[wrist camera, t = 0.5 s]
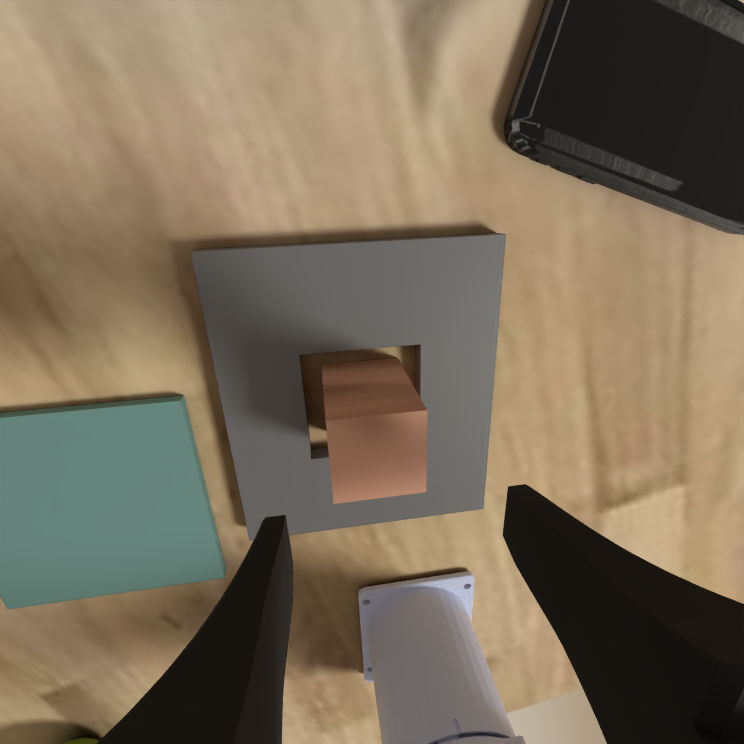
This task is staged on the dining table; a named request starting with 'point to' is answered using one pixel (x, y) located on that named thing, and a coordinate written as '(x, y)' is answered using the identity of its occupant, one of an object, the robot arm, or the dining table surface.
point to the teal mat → (102, 502)
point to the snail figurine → (82, 741)
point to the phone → (640, 102)
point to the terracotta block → (374, 430)
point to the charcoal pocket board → (343, 333)
